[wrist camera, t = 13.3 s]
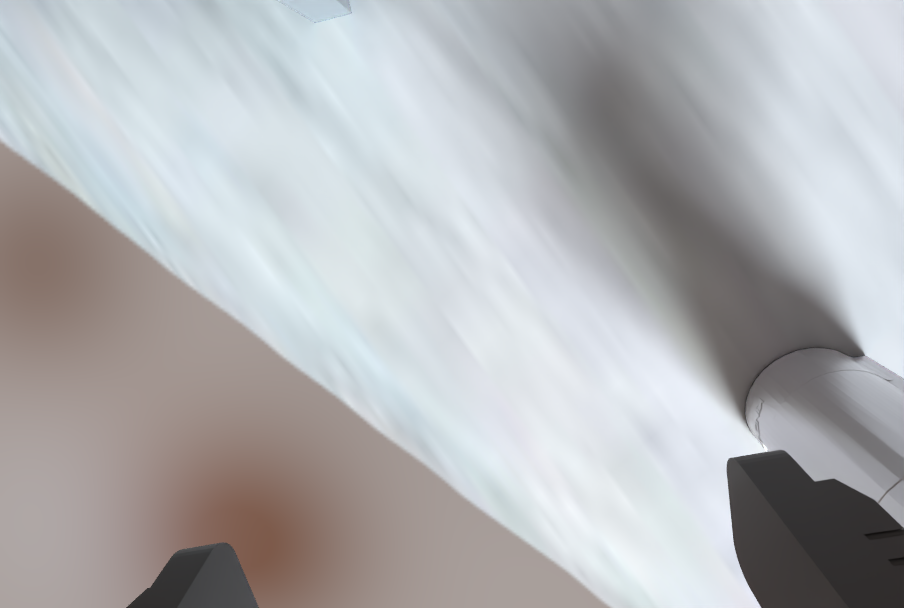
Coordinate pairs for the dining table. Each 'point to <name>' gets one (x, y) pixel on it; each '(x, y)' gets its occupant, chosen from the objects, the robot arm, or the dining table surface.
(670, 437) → the dining table surface
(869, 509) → the robot arm
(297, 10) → the blue-grey plate
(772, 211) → the dining table surface
